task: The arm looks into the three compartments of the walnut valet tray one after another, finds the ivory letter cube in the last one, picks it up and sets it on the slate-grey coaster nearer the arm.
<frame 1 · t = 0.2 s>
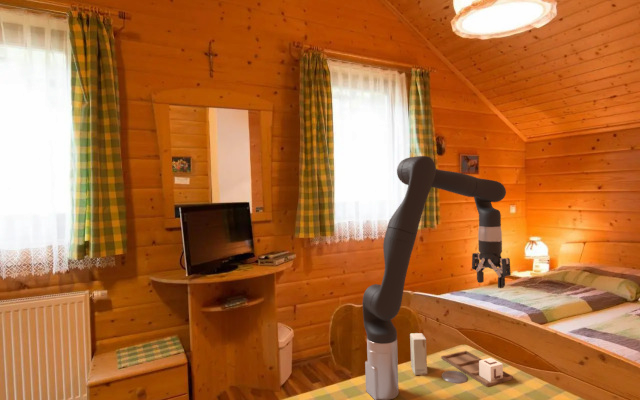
hand: (490, 285, 138), 28 cm above the table, tool pointing down, fingers open, 8 cm apart
slate coaster: (454, 378, 130), on the table
valet tray: (475, 369, 135), on the table
letter cube: (490, 377, 129), resting on valet tray
skincare box: (419, 371, 136), on the table
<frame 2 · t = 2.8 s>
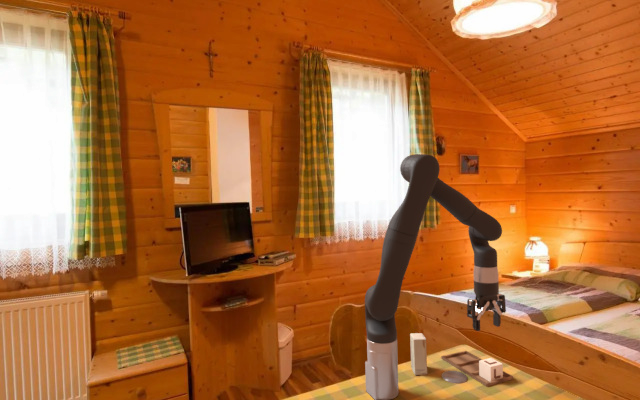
hand: (487, 328, 130), 16 cm above the table, tool pointing down, fingers open, 8 cm apart
nothing on the table moved.
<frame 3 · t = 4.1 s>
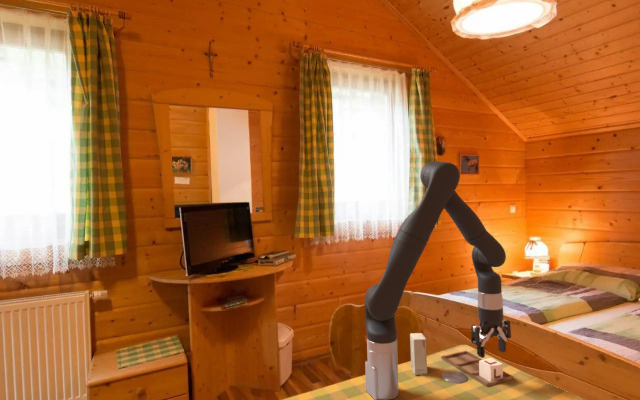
hand: (491, 354, 128), 8 cm above the table, tool pointing down, fingers open, 8 cm apart
nothing on the table moved.
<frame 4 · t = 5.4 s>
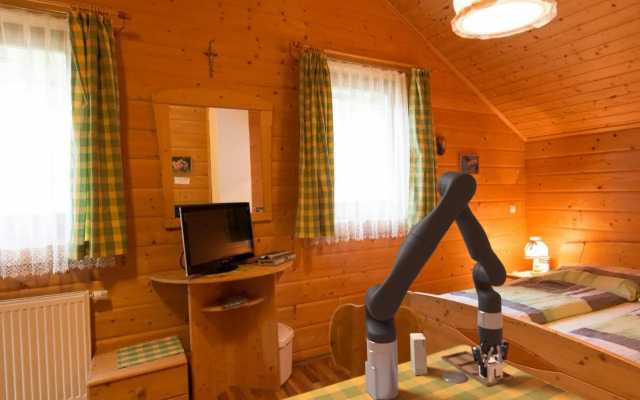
hand: (491, 374, 129), 1 cm above the table, tool pointing down, fingers closed on letter cube, 5 cm apart
letter cube: (490, 377, 129), resting on valet tray, touching gripper
everything else where it was.
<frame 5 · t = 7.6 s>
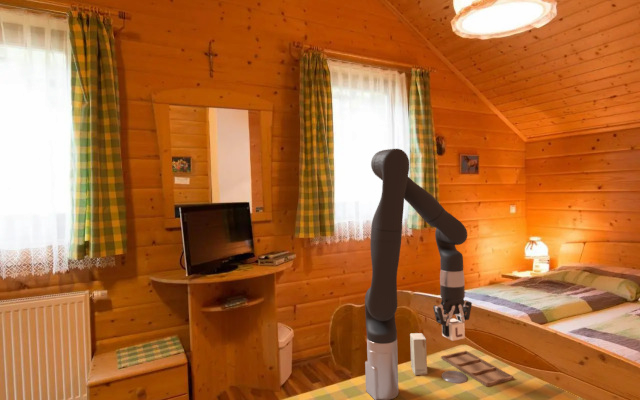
hand: (453, 334, 129), 15 cm above the table, tool pointing down, fingers closed on letter cube, 5 cm apart
letter cube: (453, 336, 129), point 14 cm above the table, touching gripper
everything else where it was.
when the fingers open (3 cm above the table, at t = 9.8 s): letter cube drops 1 cm, resting on slate coaster.
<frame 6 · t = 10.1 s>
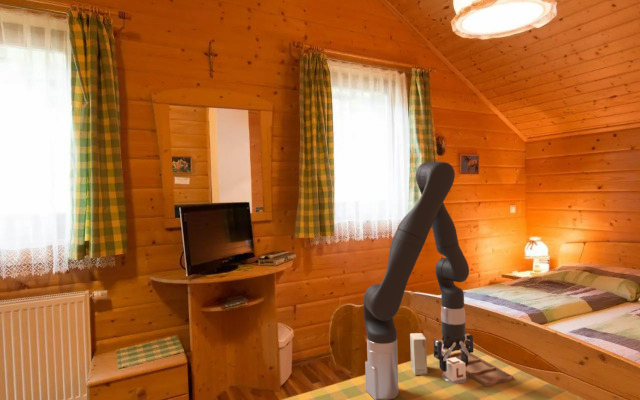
hand: (454, 368, 130), 3 cm above the table, tool pointing down, fingers open, 8 cm apart
letter cube: (454, 376, 130), point 1 cm above the table, touching slate coaster
everything else where it was.
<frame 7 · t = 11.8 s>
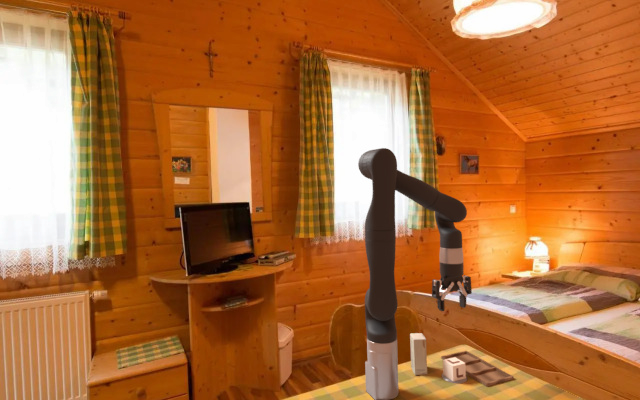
hand: (452, 308, 132), 22 cm above the table, tool pointing down, fingers open, 8 cm apart
nothing on the table moved.
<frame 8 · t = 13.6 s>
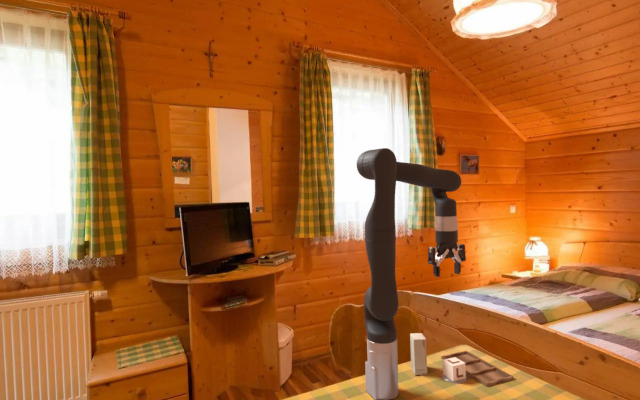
hand: (447, 275, 138), 32 cm above the table, tool pointing down, fingers open, 8 cm apart
nothing on the table moved.
at the end: letter cube 0.0 cm from the slate coaster (horizontally); letter cube point 0.6 cm above the table; letter cube tilted 0° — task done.
